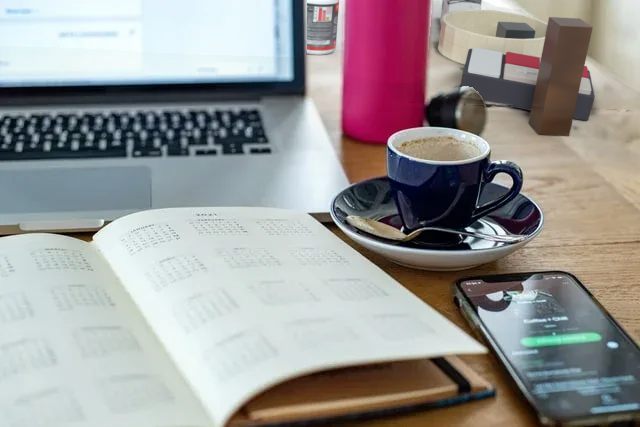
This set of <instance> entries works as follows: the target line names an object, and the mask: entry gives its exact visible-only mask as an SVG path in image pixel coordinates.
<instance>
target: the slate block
mask: <svg viewBox="0 0 640 427" xmlns="http://www.w3.org/2000/svg"><path fill="white" fill-rule="evenodd" d="M496 37H500V38H512V39H533V38H534V37H535V30H534V29H533V28H531V27H530V26H529V25H528V24H527V23H517V22H498V25H497V31H496Z"/></svg>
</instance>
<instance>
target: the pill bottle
mask: <svg viewBox="0 0 640 427" xmlns="http://www.w3.org/2000/svg"><path fill="white" fill-rule="evenodd" d="M339 9H340V0H307V53H306V55H319V56H320V55H321V56H322V55H328V54H331V53H333V52H334V51H335V50H336V46H337V37H338V36H337V34H338V20H339Z"/></svg>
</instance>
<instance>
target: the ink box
mask: <svg viewBox="0 0 640 427" xmlns="http://www.w3.org/2000/svg"><path fill="white" fill-rule="evenodd" d="M482 1H483V0H442V1H441V11H440V20H439V23H440V24H441V23H442V18H443V15H445V14H447V13H449V12H452V11H458V10H472V9H478V10H482V9H481V8H482Z"/></svg>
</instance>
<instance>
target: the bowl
mask: <svg viewBox="0 0 640 427" xmlns="http://www.w3.org/2000/svg"><path fill="white" fill-rule="evenodd" d="M498 22H517V23H527V24H528V25H529V26H530V27H531V28H533V29H534V30H535V37H534V38H533V39H512V38H500V37H496V31H497V25H498ZM547 25H548V22H546V21H543V20H541V19H539V18H535V17H532V16H528V15H524V14H521V13H520V14H519V13H515V12H509V11H501V10H494V9H493V10H492V9H480V10H478V9H472V10H458V11H452V12H449V13H447V14H445V15H443V18H442V23H440V31H439V36H438V46H437V50H438V51H439V53H440V54H441V55H442V56H443V57H445V58H446V59H448V60H450V61H453V62H455V63H458V64H461V65H464V66H465V63H466V59H467V55H468V51H469V49H473V47H476V48H482V49H487V50H493V51H498V52H502V54H504V55H506V52H512V53H518V54H523V55H529V56H534V57H540V58H541V56H542V51H543V46H544V41H545V35H546V30H547Z"/></svg>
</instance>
